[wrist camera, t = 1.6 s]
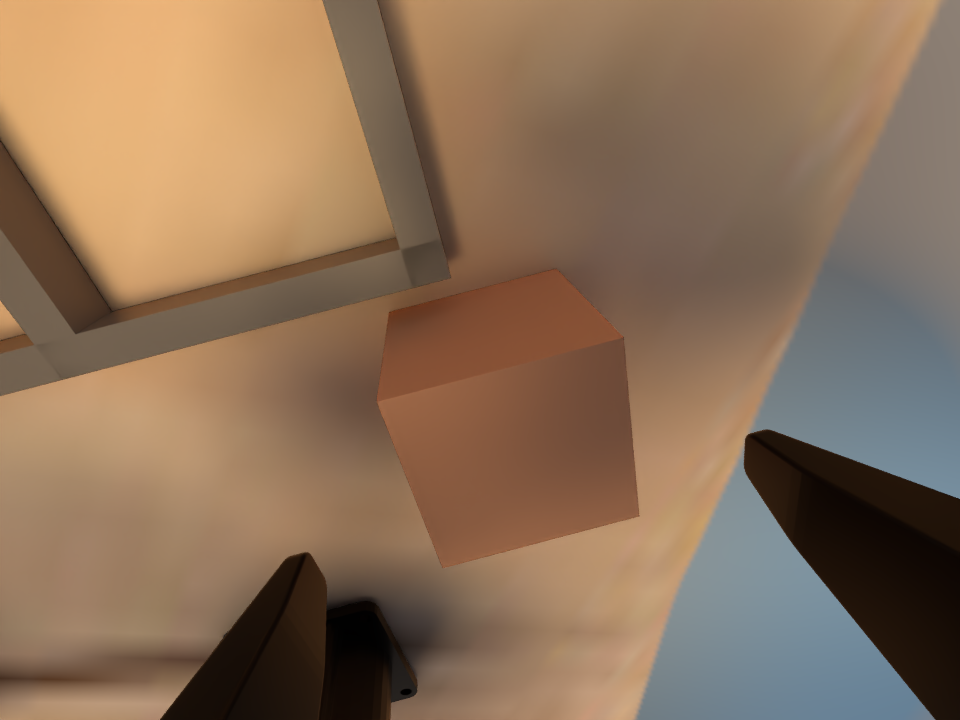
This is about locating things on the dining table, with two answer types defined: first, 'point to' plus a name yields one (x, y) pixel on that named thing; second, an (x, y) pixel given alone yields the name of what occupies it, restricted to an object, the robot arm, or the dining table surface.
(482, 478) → the terracotta block
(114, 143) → the dining table surface
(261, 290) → the charcoal frame
